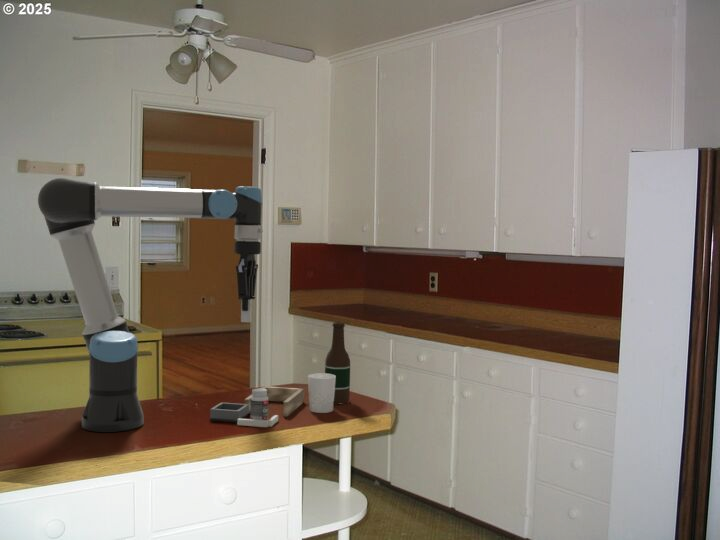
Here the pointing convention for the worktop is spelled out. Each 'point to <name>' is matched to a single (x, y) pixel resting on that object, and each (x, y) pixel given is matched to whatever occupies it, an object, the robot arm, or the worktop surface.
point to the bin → (229, 412)
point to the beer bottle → (339, 364)
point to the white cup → (321, 392)
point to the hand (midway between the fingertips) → (246, 321)
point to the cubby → (283, 398)
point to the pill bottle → (259, 405)
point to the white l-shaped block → (258, 422)
